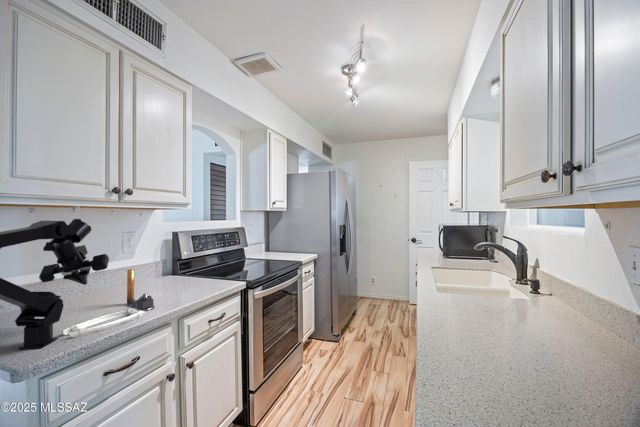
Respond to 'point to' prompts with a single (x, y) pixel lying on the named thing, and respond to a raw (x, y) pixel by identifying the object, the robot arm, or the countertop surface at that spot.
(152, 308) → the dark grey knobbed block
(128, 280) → the l-shaped piece
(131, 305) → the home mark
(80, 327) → the door handle
